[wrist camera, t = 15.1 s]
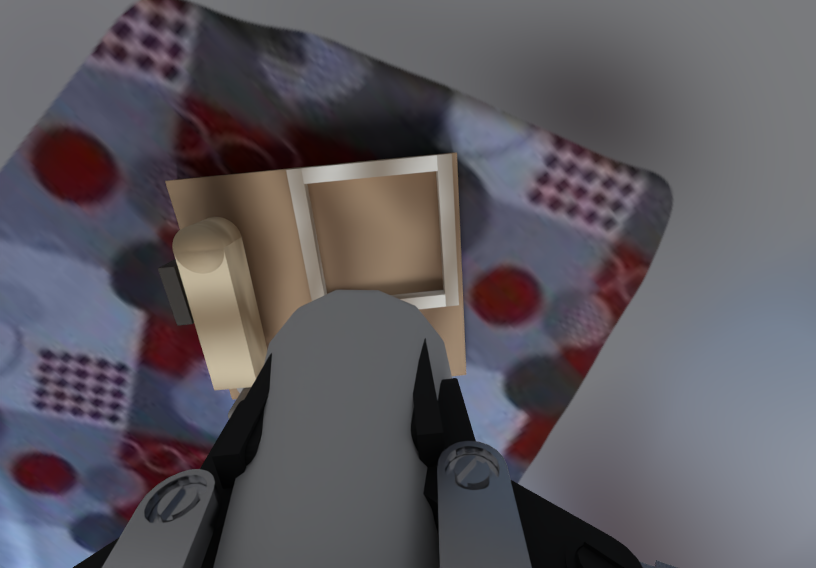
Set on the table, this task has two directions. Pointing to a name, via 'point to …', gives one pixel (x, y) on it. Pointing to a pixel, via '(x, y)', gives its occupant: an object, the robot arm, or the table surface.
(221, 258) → the leg
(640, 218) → the table surface
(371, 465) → the salt shaker
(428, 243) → the wooden activity board
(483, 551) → the robot arm
